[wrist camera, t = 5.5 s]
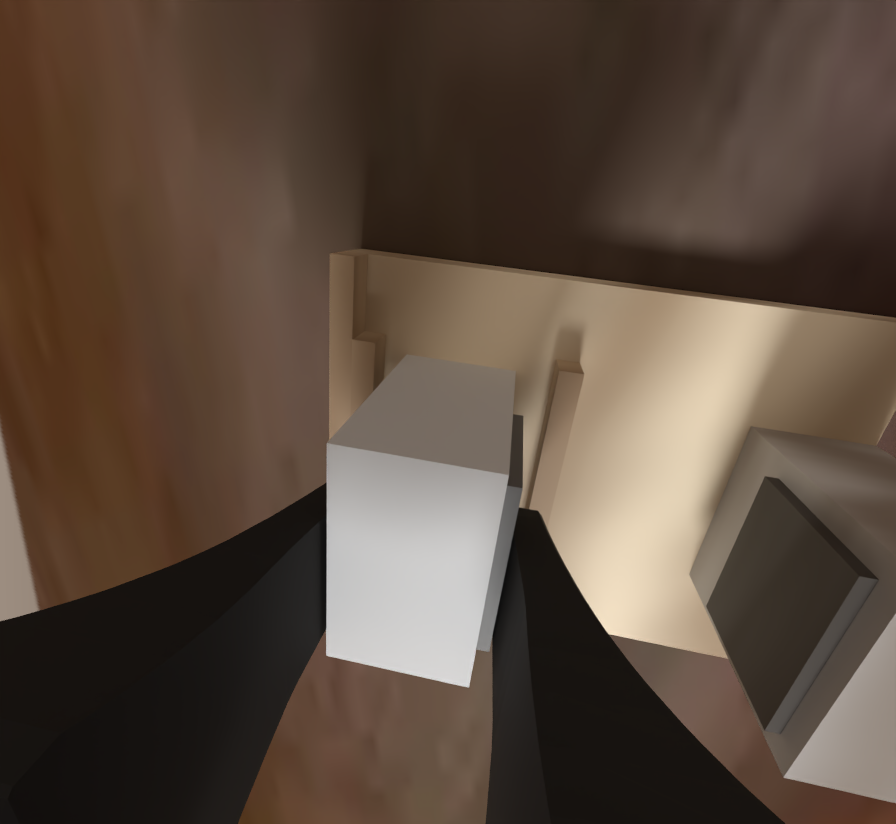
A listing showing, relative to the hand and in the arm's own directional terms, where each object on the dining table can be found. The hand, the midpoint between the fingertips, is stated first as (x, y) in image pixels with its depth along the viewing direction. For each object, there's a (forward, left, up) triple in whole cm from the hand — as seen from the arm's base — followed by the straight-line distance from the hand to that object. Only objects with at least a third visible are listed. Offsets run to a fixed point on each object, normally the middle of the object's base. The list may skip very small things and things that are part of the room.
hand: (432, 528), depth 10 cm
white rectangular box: (0, 0, -3) cm, 3 cm away
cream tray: (-4, 0, -4) cm, 6 cm away
